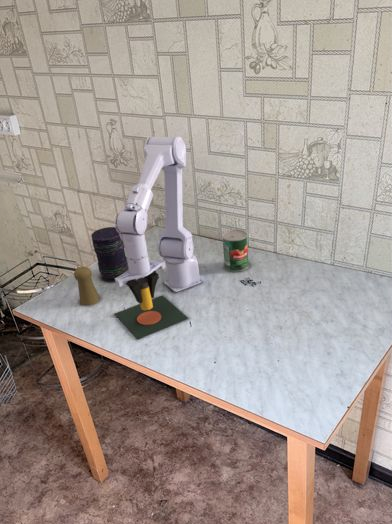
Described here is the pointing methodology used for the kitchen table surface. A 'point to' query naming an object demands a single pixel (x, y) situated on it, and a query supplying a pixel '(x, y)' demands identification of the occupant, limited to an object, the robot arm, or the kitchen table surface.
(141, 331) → the mat
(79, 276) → the olive pawn
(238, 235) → the canned tomato
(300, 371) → the kitchen table surface
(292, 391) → the kitchen table surface
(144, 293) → the glue stick
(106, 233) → the storage jar
